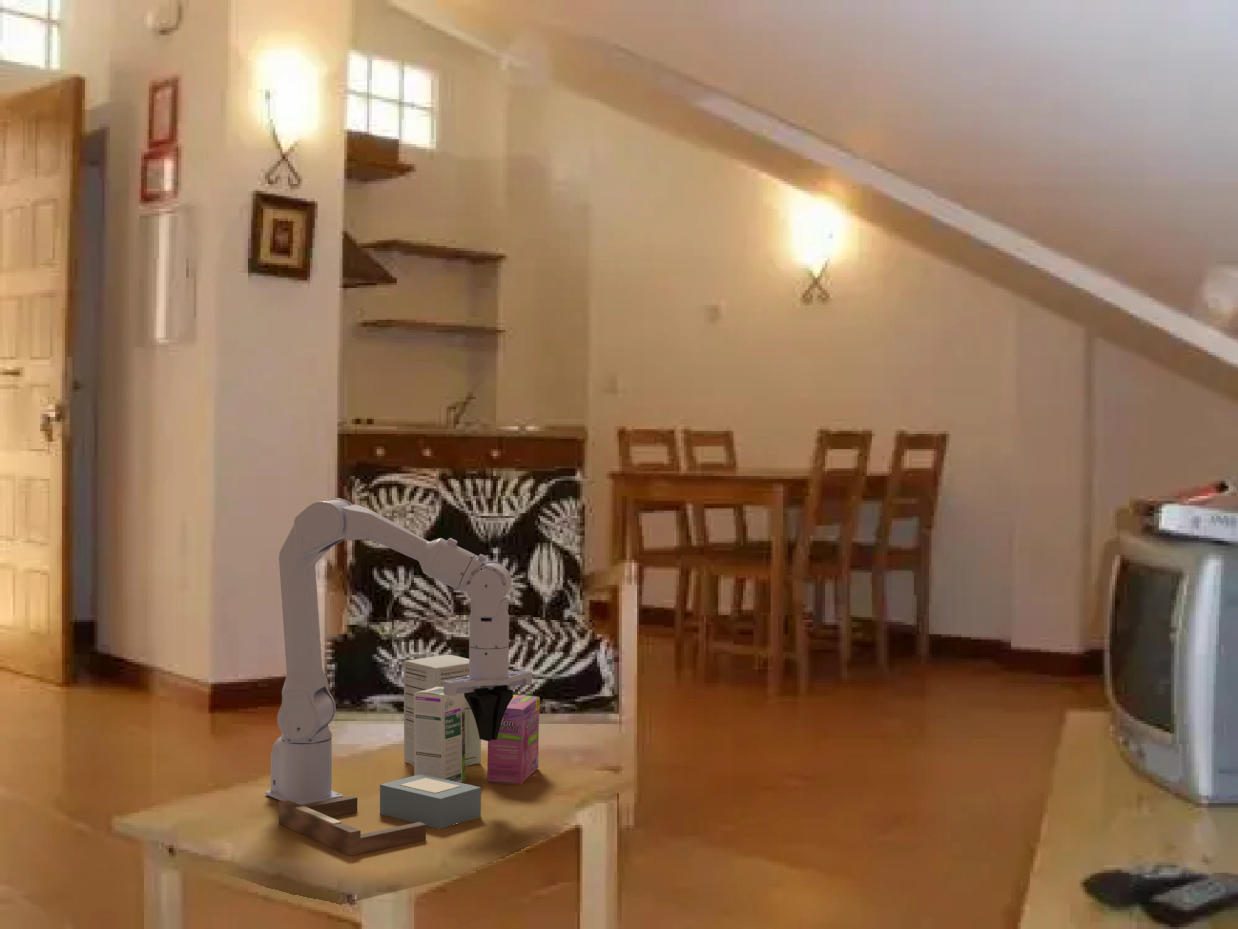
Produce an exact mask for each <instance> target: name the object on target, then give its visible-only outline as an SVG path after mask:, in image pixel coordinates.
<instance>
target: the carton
mask: <svg viewBox="0 0 1238 929" xmlns="http://www.w3.org/2000/svg"><path fill="white" fill-rule="evenodd" d="M481 809H482V786H481V787H480V786H476V785H473V784H469V783H468V784H467V783H464V782H462V783H459V782H455V781H450V780H446V779H441V778H437V777H432V776H428V775H423V774H419V775H415V776H414V775H413V776H412V775H411V776H409V777H404V778H401V779H395V780H392V781H389V782H385V783H381V784H379V815H383V816H387V817H390V816H391V818H394V819H398V820H402V821H406V822H408V823H409V822H410V823H413V822H415V823H417V822H421V823H424V824H426V827H429V828H434V829H437V828H443V829H446V828H449V827H448V826H450V827H452V826H451V825H453V824H456V823H460V822H463V823H465V821H466V822H469V821H472V820H471V819H473V820H475V819H474V818H476V819H479V818H481V816H482V810H481ZM478 817H479V818H478ZM460 824H461V823H460ZM456 825H457V824H456ZM453 826H454V825H453ZM445 827H446V828H445Z"/></svg>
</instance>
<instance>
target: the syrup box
mask: <svg viewBox="0 0 1238 929" xmlns="http://www.w3.org/2000/svg"><path fill="white" fill-rule="evenodd" d="M413 767H414V773H413V774H414V775H413V776H415V775H419V774H423V775H428V776H432V777H437V778H441V779H446V780H450V781H455V782H459V783H464V782H466V766H465V697H464V693H462V694H457V695H456V696H449V695H445V694H444V687H434V688H432V689H428V690H424V691H420V692H415V693H414V765H413Z"/></svg>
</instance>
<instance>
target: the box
mask: <svg viewBox="0 0 1238 929" xmlns="http://www.w3.org/2000/svg"><path fill="white" fill-rule="evenodd" d="M540 699H541V698H540V696H537V695H525V694H523V695H522V694H521V695H520V694H513V698H512V700H511V701H510V703H509V705H508V707H507V709H506V711H505V713H504V716H503V719H502V722H501V725H500V729H499V733H498V737H497V740H491V741H487V770H486V772H487V773H486V774H487V775H486V780H487V783H495V784H496V783H497V784H509V785H510V784H511V785H522V784H523V783H524V782H525V781H526V780H527V779H528V778H529V777H530V776H531V775H533V773H534V772H536V771H537V770H538V769H539V737H540V736H539V735H540V734H539V732H540V731H539V730H540V729H539V728H540V727H539V725H540V702H541V701H540Z"/></svg>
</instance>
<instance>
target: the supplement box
mask: <svg viewBox="0 0 1238 929" xmlns="http://www.w3.org/2000/svg"><path fill="white" fill-rule="evenodd" d="M468 675H469V658H466V657H462V656H457V655H453V654H445V655H443V654H442V655H436V656H430V657H423V658H415V659H408V660H407V659H406V660H404V661H403V724H404V725H403V761H404V763H407V764H409V765H413V766H414V693H415V692H420V691H424V690H428V689H432V688H434V687H444V681H446V680H452V679H456V678H460V677H464V676H468ZM473 688H474V687H473ZM481 763H482V739H480V738H479V733H478V729H477V725H476V721H475V718H474V715H473V713H472V710H471V708H470V706H469V704H468V702H467V700H466V699H465V767H467V766H472V765H477V764H481Z"/></svg>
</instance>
